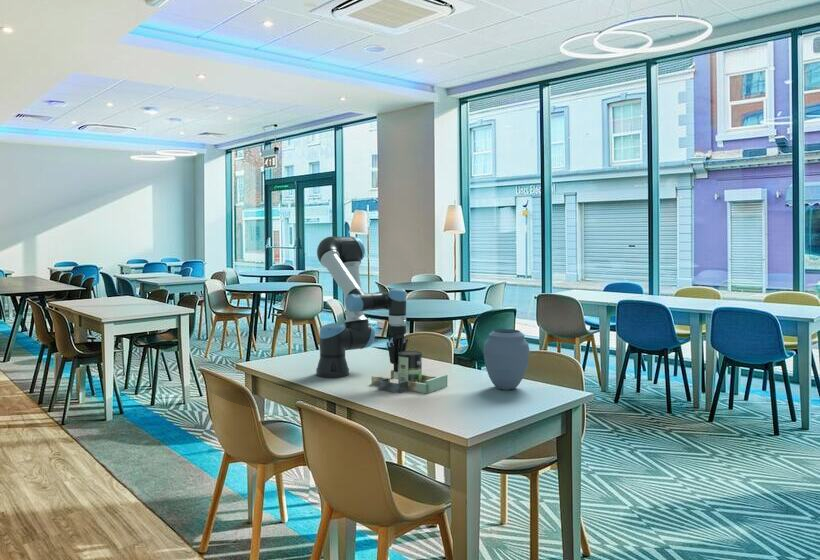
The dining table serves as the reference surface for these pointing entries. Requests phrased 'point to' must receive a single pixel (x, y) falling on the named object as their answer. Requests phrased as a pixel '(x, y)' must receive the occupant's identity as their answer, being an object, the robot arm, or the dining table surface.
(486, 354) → the vase
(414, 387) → the channel
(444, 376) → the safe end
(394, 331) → the robot arm
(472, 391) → the dining table surface
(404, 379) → the coffee can
